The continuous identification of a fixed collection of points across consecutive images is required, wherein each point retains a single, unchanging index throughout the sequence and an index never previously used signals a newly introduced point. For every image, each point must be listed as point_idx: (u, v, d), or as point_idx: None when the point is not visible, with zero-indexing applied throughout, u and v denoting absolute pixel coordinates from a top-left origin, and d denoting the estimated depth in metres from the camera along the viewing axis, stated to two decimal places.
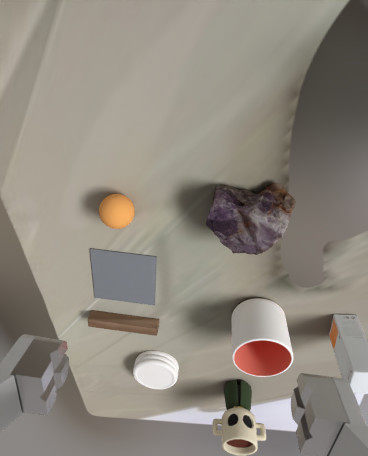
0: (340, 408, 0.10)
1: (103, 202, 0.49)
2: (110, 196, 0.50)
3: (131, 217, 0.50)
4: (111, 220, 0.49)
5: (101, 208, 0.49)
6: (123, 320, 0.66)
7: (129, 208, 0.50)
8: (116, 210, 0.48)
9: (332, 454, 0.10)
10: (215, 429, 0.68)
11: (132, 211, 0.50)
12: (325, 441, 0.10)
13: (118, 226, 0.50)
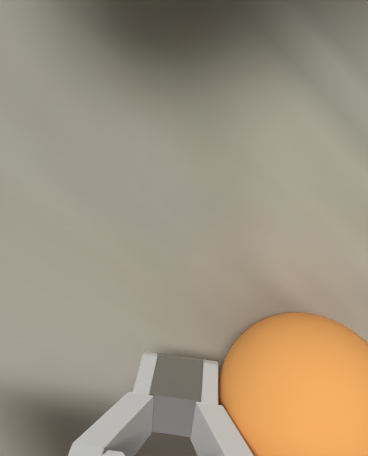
0: (198, 388, 0.10)
1: None
2: None
3: (360, 359, 0.09)
4: None
5: None
6: None
7: (332, 397, 0.08)
8: None
9: (192, 433, 0.10)
10: None
11: (331, 363, 0.09)
12: (184, 421, 0.10)
13: None
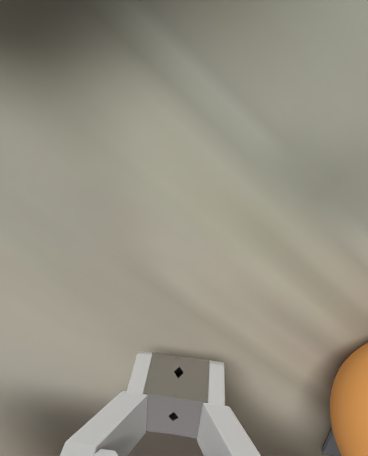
0: (204, 389, 0.10)
1: None
2: None
3: None
4: None
5: None
6: None
7: None
8: None
9: (199, 434, 0.10)
10: None
11: None
12: (190, 421, 0.10)
13: (347, 358, 0.11)
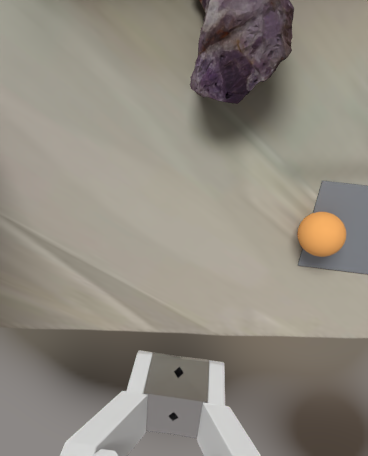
0: (204, 389, 0.10)
1: None
2: None
3: (318, 212, 0.39)
4: None
5: None
6: None
7: None
8: None
9: (199, 434, 0.10)
10: None
11: (327, 212, 0.39)
12: (190, 421, 0.10)
13: None
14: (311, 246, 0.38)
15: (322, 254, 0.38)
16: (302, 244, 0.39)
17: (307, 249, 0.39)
